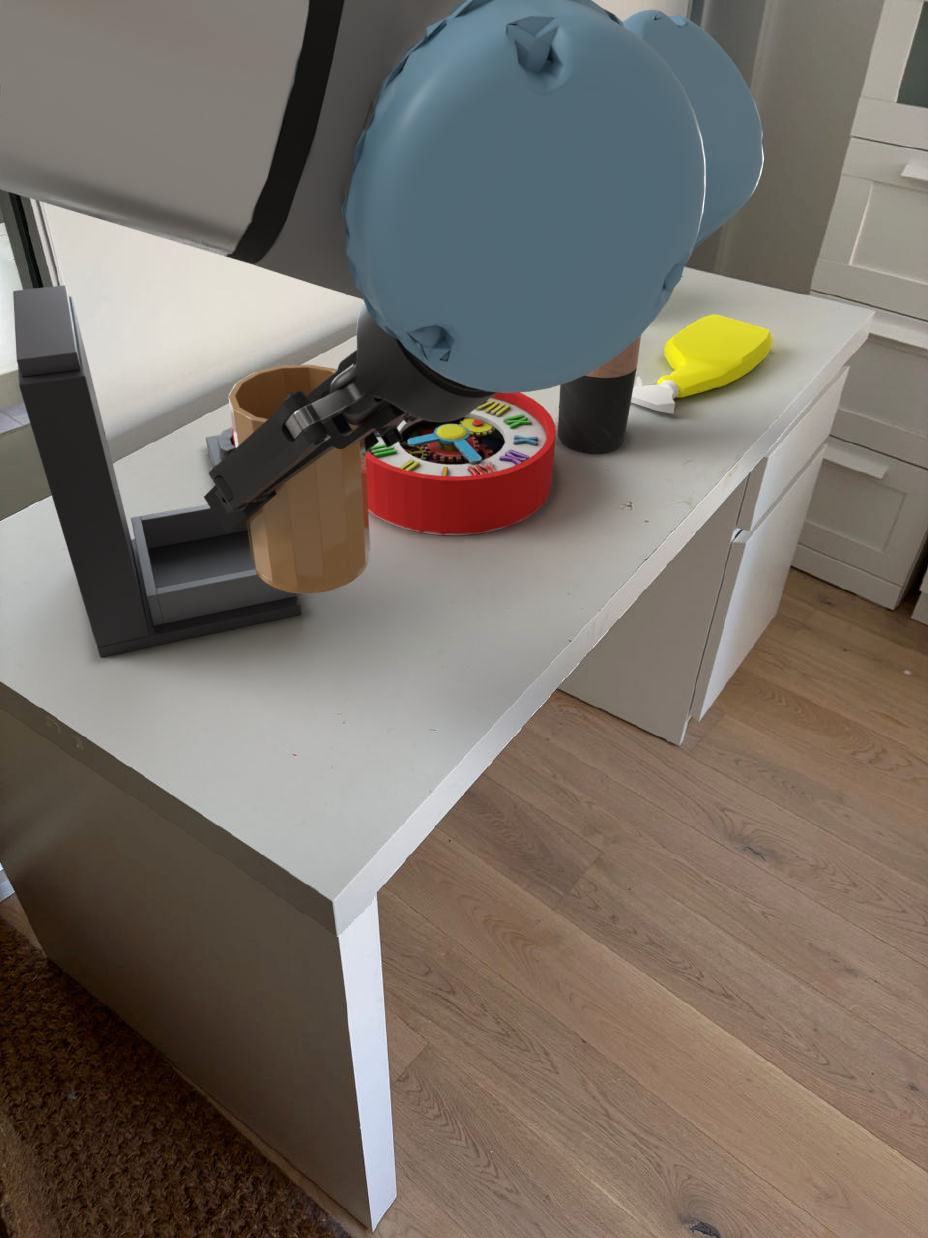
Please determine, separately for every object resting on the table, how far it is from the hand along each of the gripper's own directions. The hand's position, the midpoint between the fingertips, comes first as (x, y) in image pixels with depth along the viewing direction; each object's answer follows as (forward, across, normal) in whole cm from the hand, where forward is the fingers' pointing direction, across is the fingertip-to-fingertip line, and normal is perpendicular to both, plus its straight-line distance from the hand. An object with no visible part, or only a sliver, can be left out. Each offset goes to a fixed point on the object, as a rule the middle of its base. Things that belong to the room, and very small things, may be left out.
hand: (271, 487), depth 63 cm
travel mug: (+15, +46, -9) cm, 49 cm away
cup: (0, 0, -5) cm, 5 cm away
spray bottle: (+15, +67, -9) cm, 69 cm away
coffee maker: (+23, +2, -1) cm, 23 cm away
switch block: (+30, +18, +6) cm, 35 cm away
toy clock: (+19, +30, -5) cm, 36 cm away
